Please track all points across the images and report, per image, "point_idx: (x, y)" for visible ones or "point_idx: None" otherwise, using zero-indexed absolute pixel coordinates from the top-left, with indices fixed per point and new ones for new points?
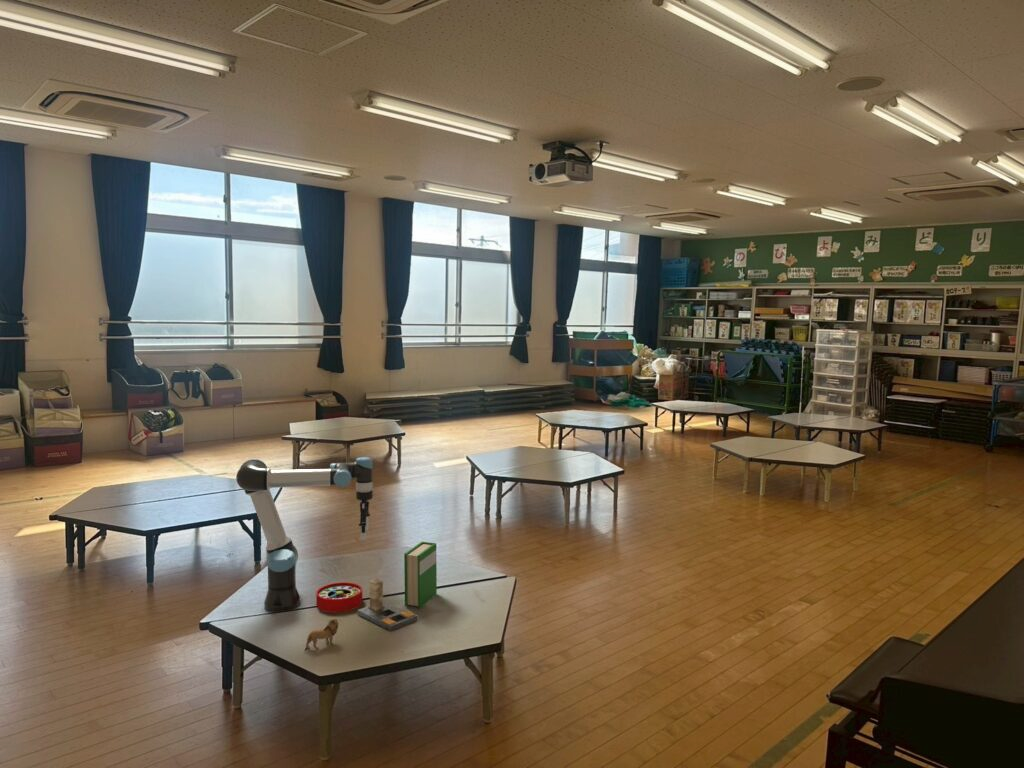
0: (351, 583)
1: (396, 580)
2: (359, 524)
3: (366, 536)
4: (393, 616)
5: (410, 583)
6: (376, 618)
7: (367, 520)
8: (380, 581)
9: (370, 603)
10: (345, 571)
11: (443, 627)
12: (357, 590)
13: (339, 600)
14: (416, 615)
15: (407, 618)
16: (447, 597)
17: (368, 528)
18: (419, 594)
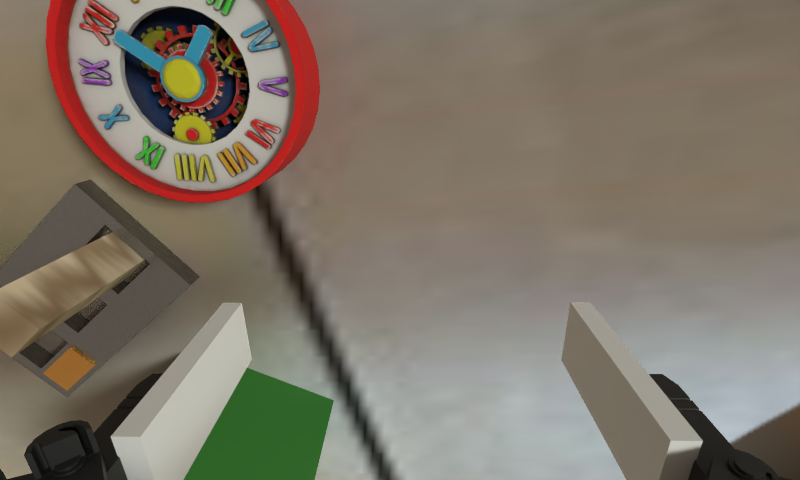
0: (287, 137)
1: (465, 312)
2: (29, 459)
3: (235, 377)
4: None
5: None
6: (10, 267)
7: (621, 453)
8: (2, 347)
9: (88, 245)
10: (654, 53)
11: None
12: (231, 173)
13: (62, 96)
14: (68, 395)
15: (36, 369)
16: None
17: (570, 375)
18: None
